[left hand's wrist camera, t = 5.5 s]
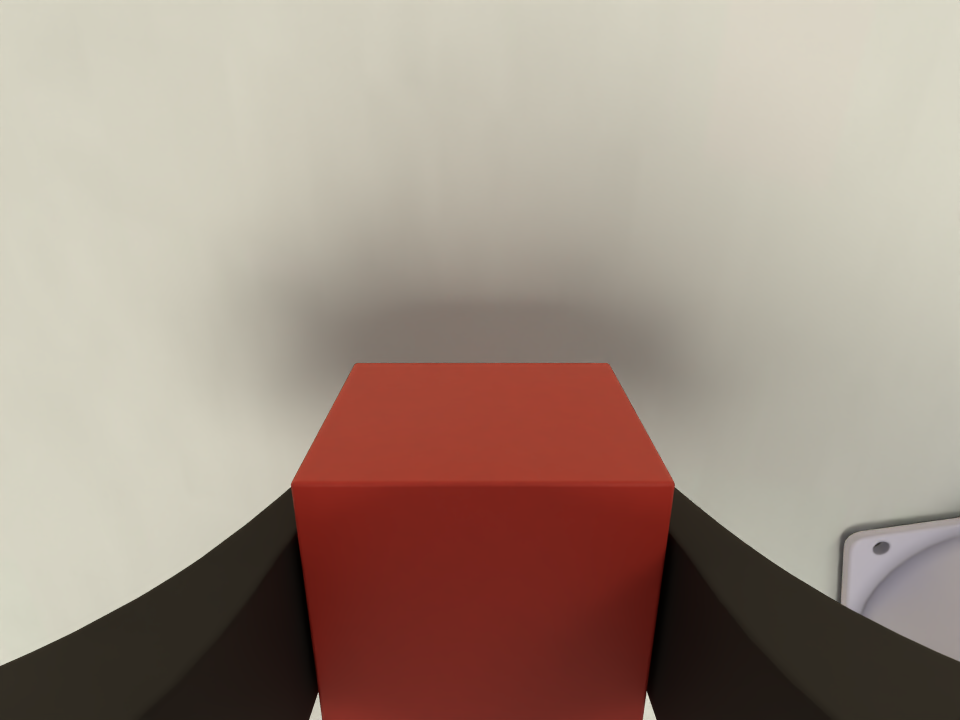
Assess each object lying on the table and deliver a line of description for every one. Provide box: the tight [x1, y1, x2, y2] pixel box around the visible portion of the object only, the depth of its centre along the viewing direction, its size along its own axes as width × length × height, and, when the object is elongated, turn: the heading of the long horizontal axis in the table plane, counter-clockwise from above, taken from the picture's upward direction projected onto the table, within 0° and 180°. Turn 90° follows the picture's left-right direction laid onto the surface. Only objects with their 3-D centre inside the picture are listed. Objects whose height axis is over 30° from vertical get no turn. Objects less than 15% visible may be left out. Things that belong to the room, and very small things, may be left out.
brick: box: [291, 363, 675, 720], centre depth 11 cm, size 5×5×4 cm
